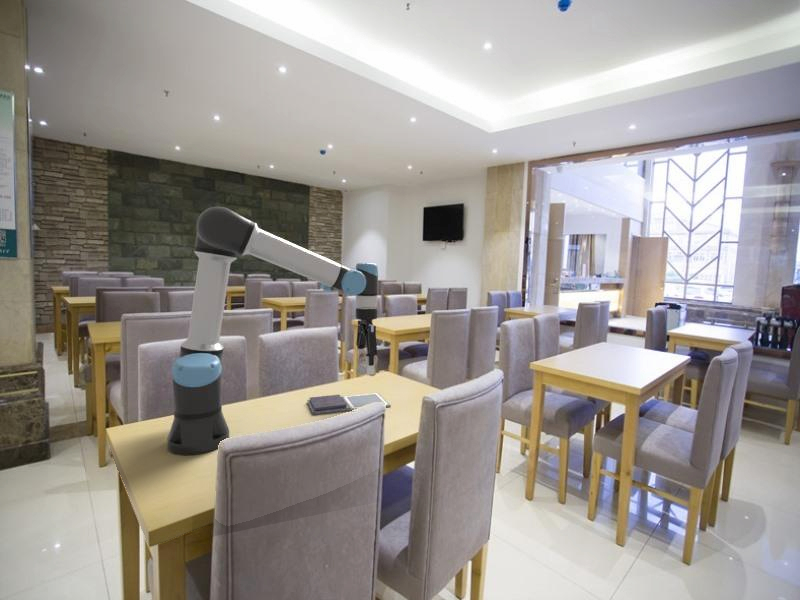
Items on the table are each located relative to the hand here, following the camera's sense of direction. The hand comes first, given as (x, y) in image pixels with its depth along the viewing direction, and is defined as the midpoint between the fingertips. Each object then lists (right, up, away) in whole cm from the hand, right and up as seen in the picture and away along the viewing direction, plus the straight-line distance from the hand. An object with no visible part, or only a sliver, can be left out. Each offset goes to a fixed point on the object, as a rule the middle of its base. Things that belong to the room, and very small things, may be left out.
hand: (365, 370), depth 144 cm
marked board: (0, -12, +1) cm, 12 cm away
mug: (0, -1, -1) cm, 1 cm away
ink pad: (-13, -12, -4) cm, 18 cm away
